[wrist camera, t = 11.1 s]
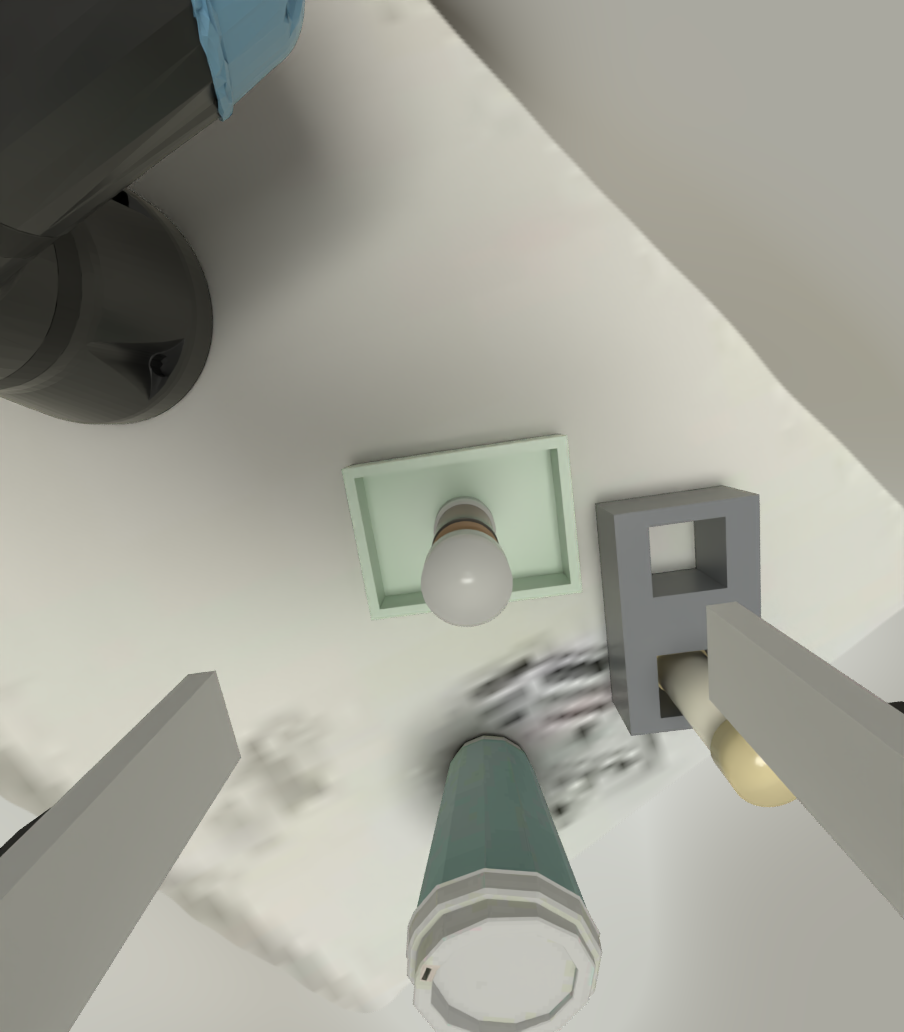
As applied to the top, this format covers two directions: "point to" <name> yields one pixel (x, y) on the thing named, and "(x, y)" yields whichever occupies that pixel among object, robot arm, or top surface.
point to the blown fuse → (466, 565)
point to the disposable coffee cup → (499, 905)
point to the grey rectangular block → (671, 590)
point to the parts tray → (476, 473)
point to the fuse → (719, 730)
